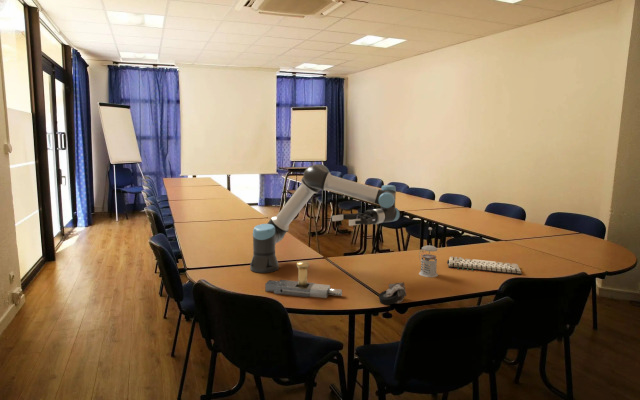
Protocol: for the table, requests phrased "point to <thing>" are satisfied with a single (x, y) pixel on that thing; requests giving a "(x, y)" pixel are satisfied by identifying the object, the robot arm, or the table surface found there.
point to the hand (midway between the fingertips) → (340, 220)
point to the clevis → (301, 289)
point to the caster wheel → (393, 294)
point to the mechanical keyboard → (483, 266)
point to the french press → (428, 270)
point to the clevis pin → (302, 273)
